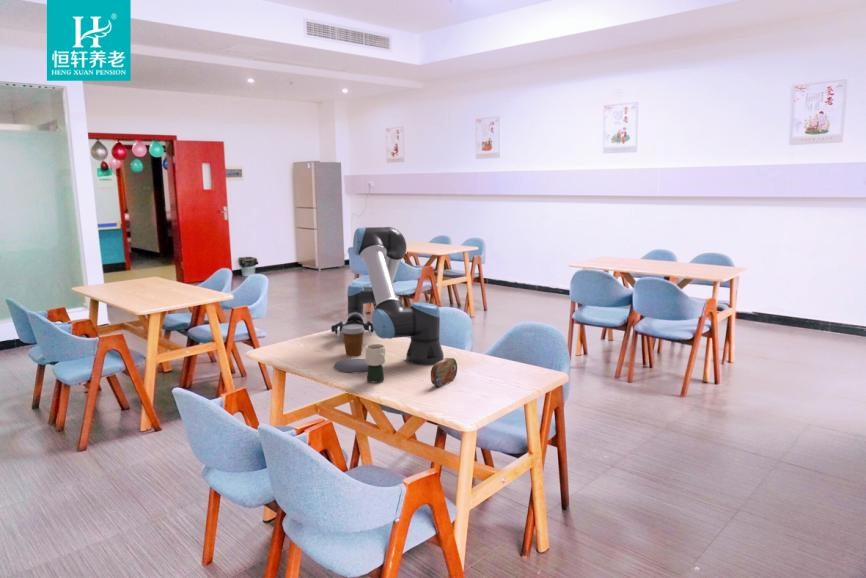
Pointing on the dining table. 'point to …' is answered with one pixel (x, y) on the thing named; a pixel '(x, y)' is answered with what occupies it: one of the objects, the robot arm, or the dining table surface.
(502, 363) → the dining table surface
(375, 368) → the character mug
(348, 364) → the mat
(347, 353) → the disposable coffee cup
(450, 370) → the tin
